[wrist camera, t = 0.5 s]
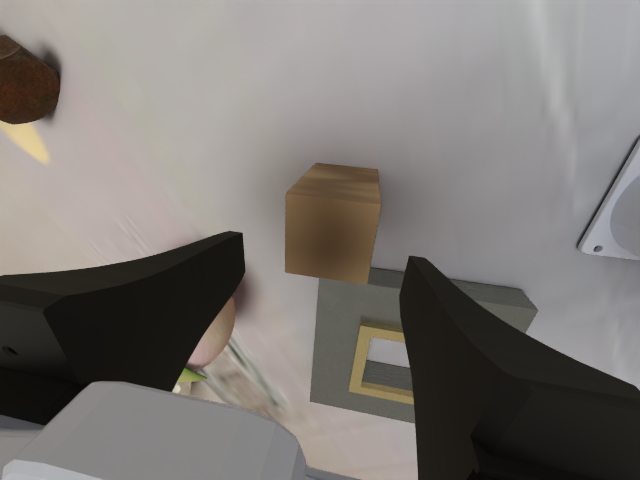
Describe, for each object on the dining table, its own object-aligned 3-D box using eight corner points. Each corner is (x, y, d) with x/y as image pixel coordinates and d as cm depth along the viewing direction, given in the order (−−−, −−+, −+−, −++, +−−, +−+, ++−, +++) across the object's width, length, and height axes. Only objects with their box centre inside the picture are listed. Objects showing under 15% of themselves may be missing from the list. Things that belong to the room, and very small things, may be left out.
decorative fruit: (270, 277, 25) (216, 369, 16) (237, 326, 29) (178, 423, 20) (182, 222, 24) (73, 288, 15) (159, 281, 28) (60, 361, 19)
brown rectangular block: (377, 169, 19) (381, 204, 12) (368, 226, 21) (366, 284, 14) (315, 163, 20) (285, 193, 13) (312, 219, 22) (285, 272, 15)
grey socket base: (520, 289, 21) (543, 315, 19) (460, 409, 29) (469, 441, 26) (324, 260, 23) (318, 281, 21) (314, 380, 31) (308, 406, 28)
